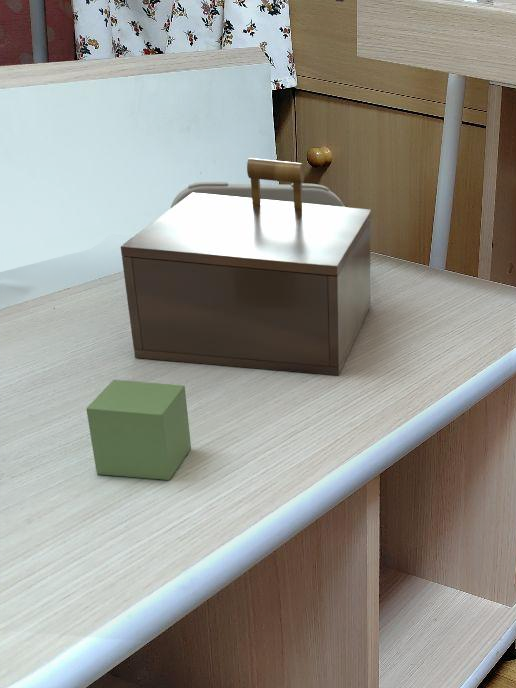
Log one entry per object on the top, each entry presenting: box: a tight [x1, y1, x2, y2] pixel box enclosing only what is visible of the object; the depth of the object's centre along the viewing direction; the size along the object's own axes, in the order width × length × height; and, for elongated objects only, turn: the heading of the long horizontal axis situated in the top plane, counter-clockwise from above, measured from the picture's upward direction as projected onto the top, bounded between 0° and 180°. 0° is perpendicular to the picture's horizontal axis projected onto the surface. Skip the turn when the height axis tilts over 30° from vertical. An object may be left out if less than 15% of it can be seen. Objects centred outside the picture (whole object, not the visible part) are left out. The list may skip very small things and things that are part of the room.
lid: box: [120, 157, 373, 276], centre depth 88 cm, size 20×18×5 cm
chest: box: [121, 220, 371, 376], centre depth 91 cm, size 19×18×9 cm
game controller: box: [169, 181, 346, 210], centre depth 110 cm, size 20×2×8 cm, turn 109°
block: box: [85, 379, 192, 481], centre depth 69 cm, size 5×5×5 cm
